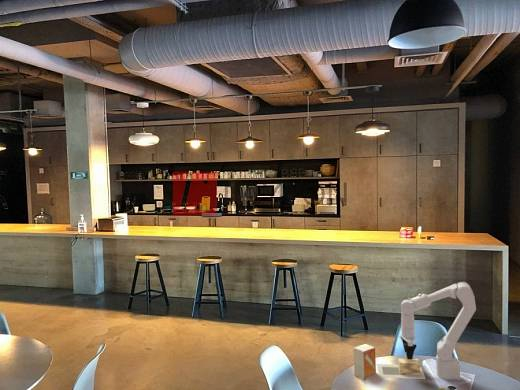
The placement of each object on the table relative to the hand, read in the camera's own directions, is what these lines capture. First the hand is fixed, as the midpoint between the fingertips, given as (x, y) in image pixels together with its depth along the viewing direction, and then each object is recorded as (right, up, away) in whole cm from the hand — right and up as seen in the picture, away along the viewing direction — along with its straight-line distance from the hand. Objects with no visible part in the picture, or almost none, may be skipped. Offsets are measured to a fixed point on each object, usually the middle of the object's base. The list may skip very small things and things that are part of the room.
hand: (408, 355), depth 196 cm
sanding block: (0, -8, 0) cm, 8 cm away
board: (-3, -9, +1) cm, 9 cm away
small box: (-20, -10, +1) cm, 22 cm away
